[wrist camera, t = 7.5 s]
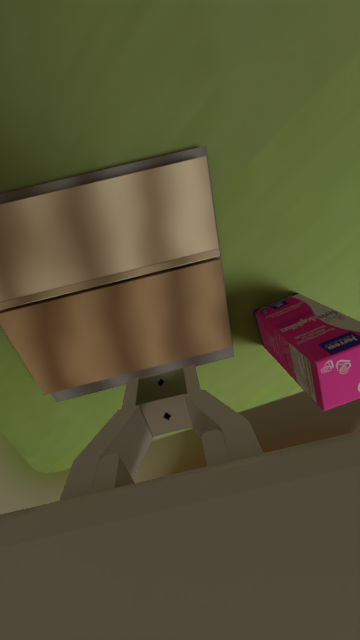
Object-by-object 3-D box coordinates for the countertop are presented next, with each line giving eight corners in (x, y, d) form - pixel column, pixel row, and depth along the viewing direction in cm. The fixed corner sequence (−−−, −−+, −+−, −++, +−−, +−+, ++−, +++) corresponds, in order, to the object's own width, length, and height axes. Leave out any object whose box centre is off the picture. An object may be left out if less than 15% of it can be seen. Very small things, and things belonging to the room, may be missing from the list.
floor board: (203, 149, 19) (210, 138, 17) (231, 352, 28) (238, 363, 26) (-53, 209, 19) (-83, 207, 16) (59, 396, 28) (51, 412, 26)
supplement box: (296, 289, 26) (393, 333, 16) (303, 329, 28) (390, 390, 18) (251, 308, 26) (316, 363, 16) (261, 346, 29) (324, 415, 18)
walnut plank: (216, 257, 22) (220, 259, 21) (228, 340, 26) (232, 346, 25) (4, 309, 22) (-6, 315, 20) (50, 386, 26) (44, 394, 24)
